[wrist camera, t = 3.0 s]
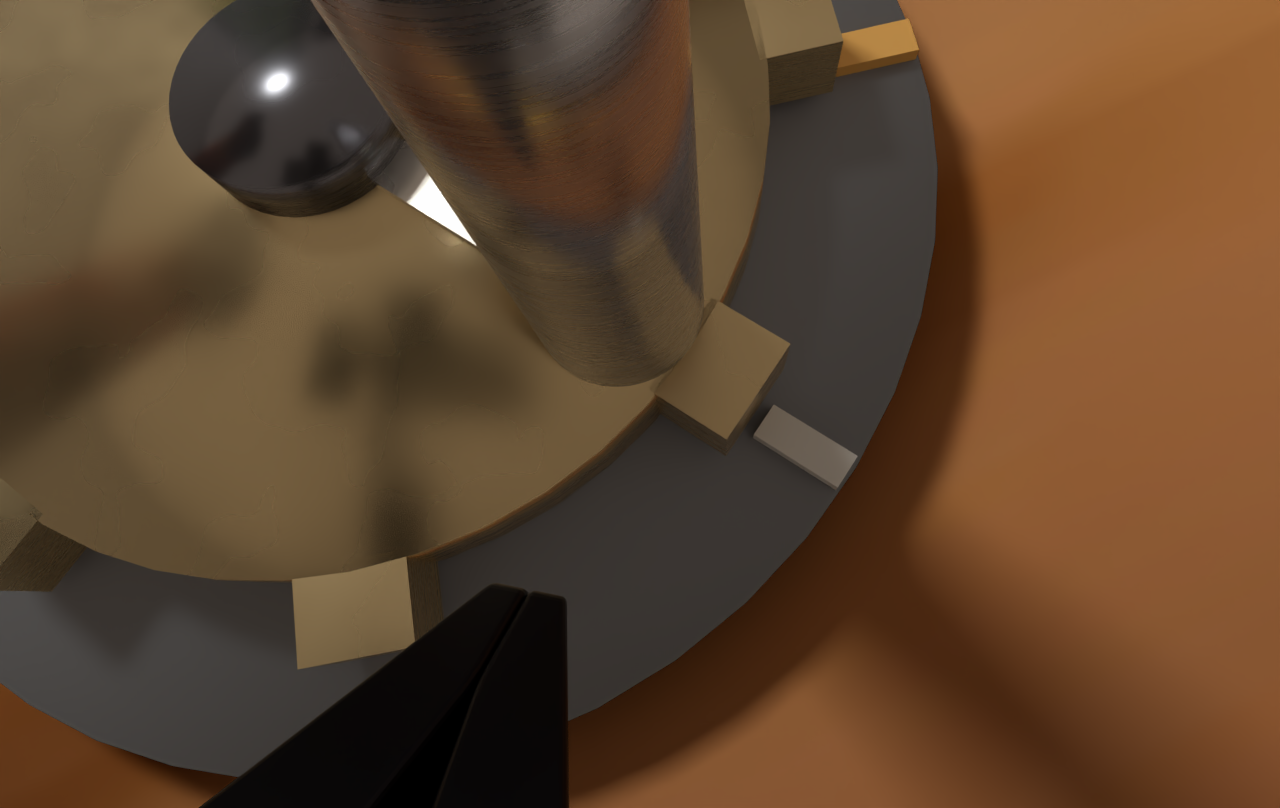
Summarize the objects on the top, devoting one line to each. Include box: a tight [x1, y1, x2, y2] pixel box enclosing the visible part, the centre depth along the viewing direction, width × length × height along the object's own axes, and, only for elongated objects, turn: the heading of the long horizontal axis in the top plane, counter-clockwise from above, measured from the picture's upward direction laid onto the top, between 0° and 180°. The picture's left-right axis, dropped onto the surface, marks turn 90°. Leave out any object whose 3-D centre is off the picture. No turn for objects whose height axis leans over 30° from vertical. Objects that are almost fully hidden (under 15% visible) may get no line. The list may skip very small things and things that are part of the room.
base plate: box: [0, 0, 938, 777], centre depth 18 cm, size 25×25×2 cm
